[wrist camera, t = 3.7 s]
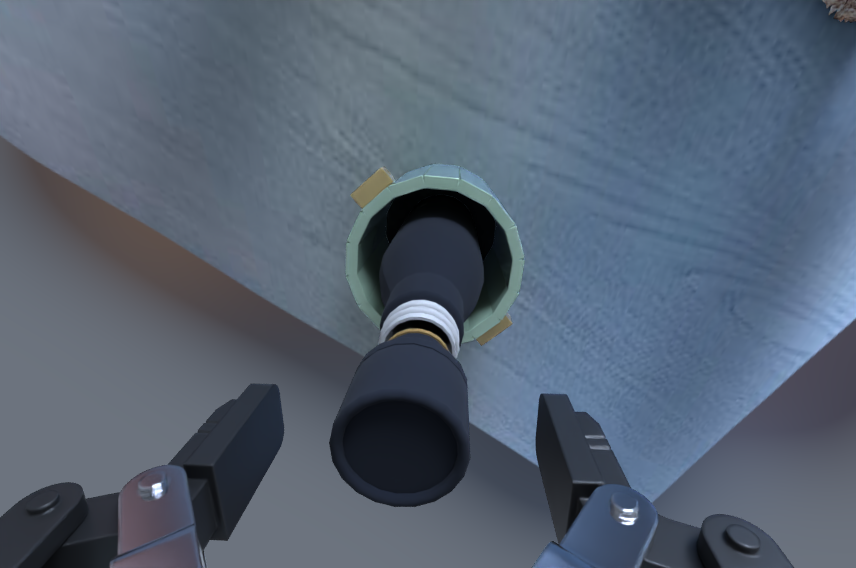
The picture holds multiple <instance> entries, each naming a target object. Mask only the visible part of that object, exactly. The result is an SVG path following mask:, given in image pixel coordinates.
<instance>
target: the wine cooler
mask: <svg viewBox="0 0 856 568" xmlns="http://www.w3.org/2000/svg"><path fill="white" fill-rule="evenodd" d="M394 181H395V178H394V177H393V176H392V175H391V173H390V172H389V171H388V170H387V169H386V167H381V168H379V169H378V170H377V171H376V172H375V173H374V174H373V175H372V176H371V177H369V178H368V179H367V180H366V181H365V182H364V183H363V184H362V185H361V186H359V187H358V188H357V189H356V190H355V191H354V192H353V193H352V194H351V197H352V198H353V199H354V201H355V202H356V203H357V204H358V205H359V206H360V207H361V208H362V211H360V213H359V215H358V217H357V219H356V221H355V223H354V226H353V228H352V230H351V232H350V234H349V236H348V239H347V241H348V242H347V243H346V266H345V274H346V275H347V276H346V278H347V281H348V283H349V286H350V289H351V291H352V294H353V296H354V299H355V301H356V304H357V305H359V308H360V310H361V311H362V312H363V313H364V314H365V315H366V316H367V317H368V318H369V319H370V320H371V321H372V322H373V323H374V325H375V326H376V327H377V328H378V329H379V330H380V321H381V317H382V313H383V311H384V308H385V306H384V304H383V302H382V299H381V290H380V281H379V272H380V267H381V262H382V258H383V255H384V253H385V252H386V250H387V248H388V247H389V245H390V244H389V242H388V239H387V236H386V226H387V213H388V211H389V209H390V207H391V205H392V202H393V200H394V198H396V197H399V196H402V195H405V194H409V193H412V192H415V191H418V190H421V189H424V188H426V189H437V190H448V191H457V192H459V193H461V194H462V195H464V196H466V197H468V198H470V199H472V200H474V201H476V202H477V203H479V204H481V205H483V206H485V207H486V209H487V210H488V211H489V212H490V214H491V215H492V216H493V217H494V219H495V223H496V225H495V233H494V240H493V245H492V247H491V249H490V251H489V252H488V254H487V256H486V257H485V259H484V261H483V268H484V283H483V286H482V290H481V293H480V296H479V299H478V302H477V304H476V306H475V308H474V310H473V312H472V313H471V314H470V316H469V317H468V318H467V320H466V321H465V322H464V336H463V339H462V343H466V342H470V341H473V340H474V339H476V340H477V341H478V342H479V344H480V345H481V346H482V345H484V344H485V343H487V342H488V341H489V340H491V339H492V338H494V337H495V336H496V335H498V334H499V333H501V332H502V331H504V330H505V329H506V328H508V327H509V326H511V325H512V324H513V323H512V320H511V317H510V315H509V314H508V313H507V312H508V310H509V309H510V307H511V306H512V304H513V302H514V301H515V299H516V298H517V296H518V295H519V293H518V292H520V287H521V281H522V275H523V269H524V263H525V260H524V253H523V249H522V245H521V241H520V237H519V234H518V230H517V227H516V225H515V223H514V221H513V220H512V218H511V217H510V215H509V214H508V212H507V211H506V209H505V208H504V206H503V205H502V203H501V202H500V200H499V199H498V198H497V196H496V195H495V194H494V192H493V191H492V190H491V189H490V187H489V186H488V185H487V184H486V182H485V181H484V180H483V179H482V178H481V177H479V176H477V175H476V174H474V173H472V172H470V171H468V170H466V169H465V168H463V167H461V166H460V167H459V166H457V165H446V164H434V165H433V164H430V165H427V166H424V167H421V168H418V169H414V170H411V171H409V172H407V173H406V174H404V175H403V176H402V177H400V178H399V179H397V180H396V181H395V182H394ZM462 343H461V344H462Z"/></svg>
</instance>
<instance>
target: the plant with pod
mask: <svg viewBox="0 0 856 568" xmlns="http://www.w3.org/2000/svg"><path fill="white" fill-rule="evenodd" d="M822 1H823V2H824V3H825V4H826V7H827V8H828V7H829V6H831V8H830V12H829V15H830V14H831V13H833V12H834V11H836V10H837V9H838V10H837V12H836V14H835V16H834V19H837V20H839V21H840V22H841V21H842V20H844V19H845V22H846V21H847V22H848V21H850V22H853V21H854V22H856V0H822Z"/></svg>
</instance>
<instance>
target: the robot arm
mask: <svg viewBox="0 0 856 568" xmlns="http://www.w3.org/2000/svg"><path fill="white" fill-rule="evenodd" d="M283 436H284V423H283V415H282V408H281V401H280V392H279V388H278V386H277V385H276V384H250V385H249V386H248V387H247V388H246V390H245V391H244V392H243V393H242V394H241V396H240V397H239V398H238V399H237V400H235V399H232V400H230V401H229V402H227V403H226V404H224V405H222V406H221V407H219V408H218V409H216V410H215V412H214V413H213V414H212V415H211V416H210V417H209V418H208V419H207V421H206V423H204V424H203V425H202V426H201V427H200V429H199V430H198V433H195V434H194V436H192V438H191V439H190V440H189V441H188V442H187V443H186V444H185V446H184V447H183V448H182V449H181V450H180V451H179V452H178V453H177V455H176V456H175V457H174V458H173V459H172V460H171V462H170V463H169V464H168V465H162V466H158V467H154V468H151V469H149V470H146V471H144V472H142V473H140V474H139V475H137V476H135V477H134V478H133V479H131V480H130V481H129V482H128V483H127V484H126V485H125V486H124V487H123V488H122V490H121V492H119V493H114V494H108V495H103V496H98V497H93V498H88V499H86V498H85V495H84V492H83V489H82V487H81V486H80V485H79V484H76V483H69V482H68V483H59V484H55V485H51V486H48V487H45V488H43V489H40V490H38V491H36V492H34V493H32V494H30V495H29V496H26V497H25V498H23V499H22V500H20V501H19V502H18V503H17V504H15V505H14V506H13V507H12V508H11V509H9V510H8V511H7V512H6V513H5V514H4V515H3V516H1V517H0V568H207V564H206V558H205V554H204V548H205V547H206V545H207V544H208V542H209V540H225V541H227V540H228V539H229V537H230V535H231V533H232V532H233V530H234V528H235V526H236V524H237V523H238V521H239V519H240V518H241V516H242V514H243V512H244V511H245V509H246V507H247V505H248V504H249V502H250V500H251V498H252V496H253V495H254V493H255V491H256V489H257V488H258V486H259V484H260V482H261V481H262V479H263V477H264V475H265V473H266V472H267V470H268V468H269V467H270V465H271V463H272V461H273V460H274V458H275V456H276V454H277V452H278V450H279V449H280V447H281V444H282V441H283ZM536 455H537V460H538V464H539V468H540V472H541V476H542V480H543V484H544V488H545V492H546V496H547V500H548V504H549V508H550V512H551V516H552V520H553V524H554V528H555V531H556V535H557V539H558V543H559V544H557V543H555V542H554V541H552V542H550V543H549V544H548V545H547V546H546V547H545V549H544V550H543V552H542V553H541V555H540V556H539V558H538V559H537V560H536V562H535V563H534V565H533V566H532V568H794V567H793V566H792V564H791V563H790V561H789V560H788V559H787V557H786V556H785V554H784V553H783V552H782V551H781V549H780V548H779V546H778V545H777V544H776V543H775V541H774V540H773V539H772V538H771V537H770V536H769V535H767V534H766V533H765V532H764V531H763V530H761V529H760V528H758V527H757V526H755V525H753V524H751V523H750V522H747V521H745V520H743V519H740V518H738V517H734V516H730V515H724V514H716V515H711V516H709V517H707V518H706V519H705V520H704V521H703V523H702V527H701V528H697V527H694V526H691V525H687V524H684V523H680V522H677V521H674V520H670V519H668V518H665V517H663V516H660V515H659V514H658V513H657V511H656V509H655V507H654V506H653V504H652V503H651V502H650V501H649V500H648V499H647V498H646V497H645V496H644V495H642V494H641V493H639V492H637V491H636V490H634V489H631V487H630V485H629V483H628V481H627V479H626V477H625V475H624V473H623V471H622V469H621V467H620V465H619V463H618V461H617V459H616V457H615V455H614V453H613V451H612V450H611V447H610V445H609V443H608V441H607V439H605V435H604V433H603V431H602V429H601V427H600V425H599V423H598V422H596V421H595V420H594V419H593V418H592V417H591V416H590V415H589V414H587V413H586V412H575V411H574V409H573V407H572V404H571V402H570V400H569V398H568V396H567V395H566V394H541V395H540V398H539V407H538V418H537V429H536Z"/></svg>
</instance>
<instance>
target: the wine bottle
mask: <svg viewBox="0 0 856 568" xmlns="http://www.w3.org/2000/svg"><path fill="white" fill-rule="evenodd" d="M379 281H380V290H381V299H382V302H383V304H384V306H385V308H384V311H383V313H382V317H381V321H380V336H379V340H378V343H379V345H378V346H376V347H375V348H374V349H372V350H371V351H370V352H368V353H367V354H366V355H365V357H364V358H363V360H362V362H361V363H360V365H359V366H358V368H357V370H356V372H355V375H354V377H353V379H352V382H351V384H350V387H349V389H348V391H347V393H346V396H345V398H344V400H343V403H342V405H341V407H340V410H339V412H338V414H337V416H336V419H335V421H334V423H333V428H332V433H331V438H330V442H329V444H330V450H331V456H332V461H333V463H334V465H335V467H336V468H337V470H338V472H339V474H340V476H341V478H342V479H343V480H344V481H345V482H346V483H347V484H349V486H351V487H352V488H353V489H354V490H355V491H356V492H357V493H359V494H361V495H363V496H365V497H367V498H369V499H371V500H372V501H374V502H378V503H382V504H386V505H390V506H394V507H416V506H420V505H423V504H427V503H431V502H434V501H436V500H438V499H440V498H441V497H443V496H445V495H446V494H448V493H450V492H451V491H452V490H453V489H454V488H455V486H456V485H457V484H458V483H459V482H460V481H461V480H462V478H463V477H464V475H465V472H466V469H467V466H468V464H469V461H470V442H469V441H470V438H469V414H468V390H467V378H466V376H465V373H464V371H463V369H462V366H461V364H460V363H459V362H458V361H457V356H458V353H459V350H460V349H459V347H460V346H461V343H462V339H463V336H464V322H465V321H466V320H467V318H468V317H469V316H470V314H471V313H472V312H473V310H474V308H475V306H476V304H477V302H478V299H479V296H480V293H481V290H482V286H483V283H484V268H483V261H482V257H481V252H480V247H479V242H478V237H477V232H476V227H475V222H474V219H473V217H472V214H471V212H470V210H469V209H468V208H467V207H466V205H465V204H464V203H463V202H461V201H460V200H458V199H456V198H455V197H452V196H448V195H444V194H442V195H431V196H429V197H426V198H424V199H422V200H421V201H419V202H418V203H417V204H416V205H415V206H414V207H413V208H412V210H411V212H410V213H409V215H408V216H407V218H406V219H405V221H404V223H403V224H402V226H401V227H400V229H399V231H398V232H397V234H396V235H395V237H394V239H393V240H392V242H391V243H390V245H389V247H388V248H387V250H386V252H385V253H384V255H383V258H382V262H381V267H380V272H379Z"/></svg>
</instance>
